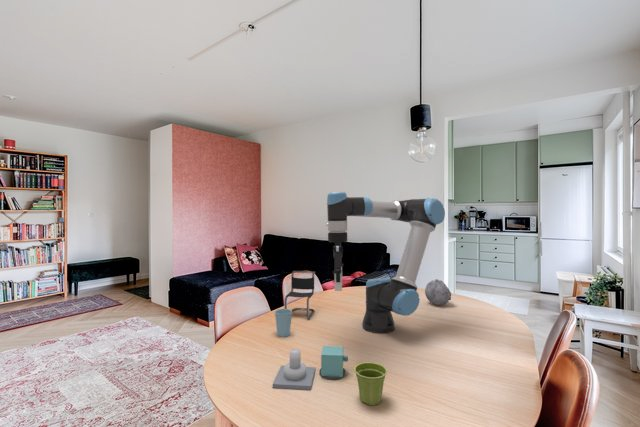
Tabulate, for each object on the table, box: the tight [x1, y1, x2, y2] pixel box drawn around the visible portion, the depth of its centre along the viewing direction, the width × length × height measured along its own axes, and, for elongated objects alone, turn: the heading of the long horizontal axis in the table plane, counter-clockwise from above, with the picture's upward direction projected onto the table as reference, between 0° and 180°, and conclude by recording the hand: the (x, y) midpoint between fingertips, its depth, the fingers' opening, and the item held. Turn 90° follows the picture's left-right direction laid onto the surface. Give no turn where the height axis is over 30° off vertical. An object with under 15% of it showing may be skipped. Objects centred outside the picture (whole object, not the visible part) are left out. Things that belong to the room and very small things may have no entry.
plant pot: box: [353, 361, 388, 406], centre depth 92 cm, size 9×9×9 cm
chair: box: [284, 270, 316, 320], centre depth 170 cm, size 13×17×22 cm
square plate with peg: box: [272, 348, 316, 391], centre depth 104 cm, size 12×12×9 cm
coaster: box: [318, 367, 347, 381], centre depth 107 cm, size 9×9×1 cm
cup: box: [274, 308, 293, 338], centre depth 142 cm, size 8×8×10 cm
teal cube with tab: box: [320, 345, 349, 378], centre depth 107 cm, size 9×7×7 cm
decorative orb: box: [424, 278, 452, 306], centre depth 187 cm, size 15×14×15 cm
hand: (338, 286), depth 123 cm, fingers open, 13 cm apart
